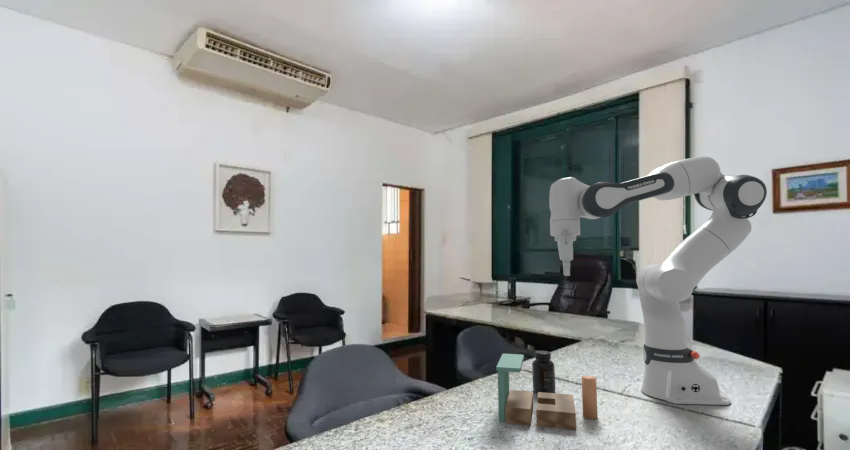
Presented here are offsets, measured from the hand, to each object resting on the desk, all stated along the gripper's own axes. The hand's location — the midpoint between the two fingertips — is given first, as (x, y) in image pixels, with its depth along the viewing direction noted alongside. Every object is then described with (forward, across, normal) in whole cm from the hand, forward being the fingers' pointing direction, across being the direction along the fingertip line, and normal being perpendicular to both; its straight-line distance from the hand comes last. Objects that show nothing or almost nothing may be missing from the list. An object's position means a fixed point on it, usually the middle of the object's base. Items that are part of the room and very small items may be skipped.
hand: (566, 275), depth 131 cm
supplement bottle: (+36, +2, +8) cm, 37 cm away
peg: (+36, -16, -4) cm, 40 cm away
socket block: (+36, -19, +8) cm, 42 cm away
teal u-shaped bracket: (+36, -19, +16) cm, 44 cm away
